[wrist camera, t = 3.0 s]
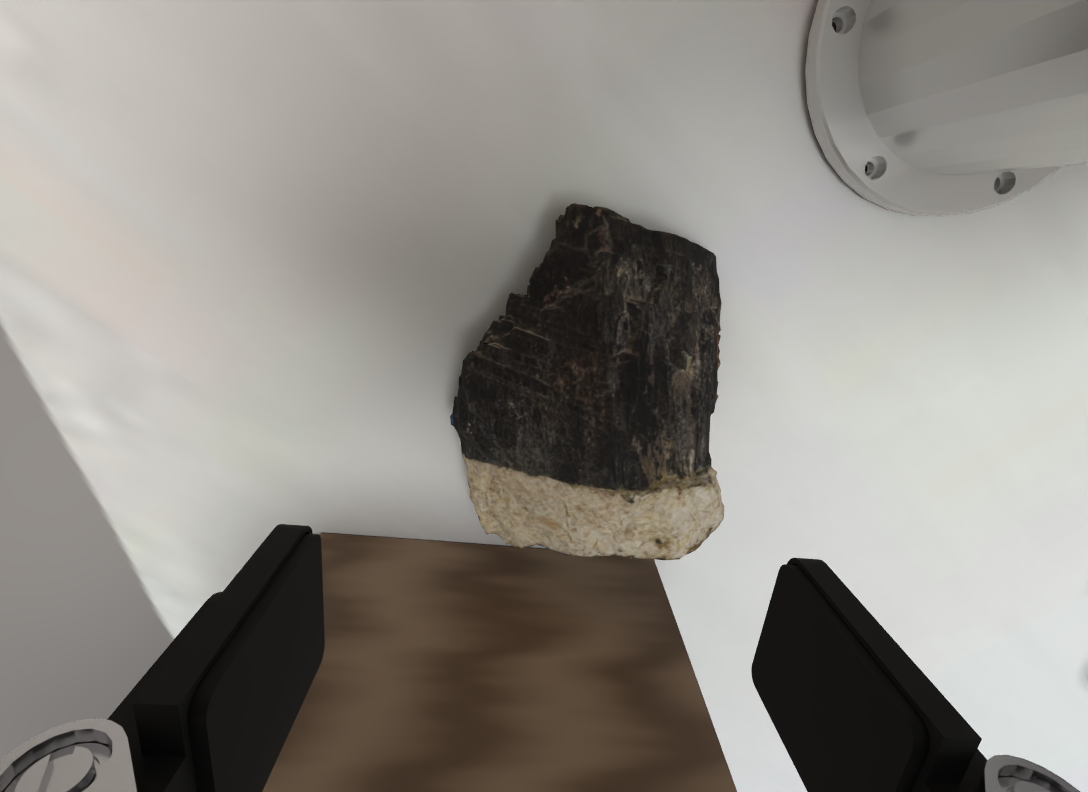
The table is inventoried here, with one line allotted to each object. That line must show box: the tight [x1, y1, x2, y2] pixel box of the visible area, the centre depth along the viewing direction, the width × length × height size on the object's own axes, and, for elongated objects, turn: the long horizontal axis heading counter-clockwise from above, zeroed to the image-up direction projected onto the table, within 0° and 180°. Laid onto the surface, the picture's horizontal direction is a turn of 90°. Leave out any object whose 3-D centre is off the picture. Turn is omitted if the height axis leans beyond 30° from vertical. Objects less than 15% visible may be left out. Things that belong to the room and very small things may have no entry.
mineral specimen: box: [450, 203, 724, 560], centre depth 22 cm, size 13×7×15 cm
